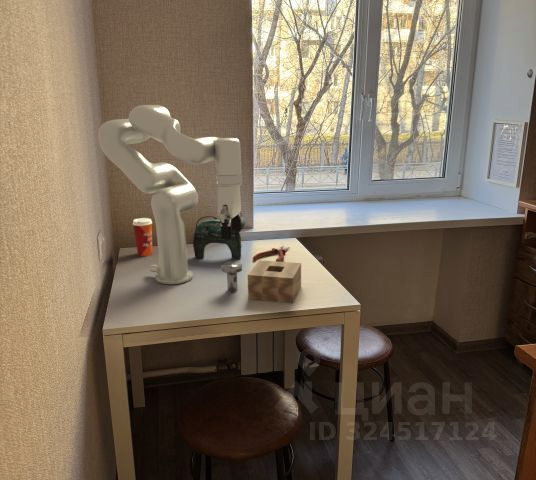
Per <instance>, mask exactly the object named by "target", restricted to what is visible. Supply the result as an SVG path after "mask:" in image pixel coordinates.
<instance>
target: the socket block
mask: <svg viewBox="0 0 536 480" xmlns="http://www.w3.org/2000/svg"><path fill="white" fill-rule="evenodd" d="M301 287H302V263H301V262H290V261H289V262H288V261H283V262H277V261H276V260H275V261H274V260H262V259H258V260H257V263H256V264H255V265H254V266H253V267H252V269H251V270H250V272H249V273H248V274H247V299H248V300H252V301H253V300H254V301H263V302H265V301H266V302H273V303H274V302H276V303H278V302H279V303H287V304H293V303H294V302H295V299H296V298H297V296H298V293H299V291H300V289H301Z"/></svg>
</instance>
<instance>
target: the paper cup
mask: <svg viewBox="0 0 536 480" xmlns="http://www.w3.org/2000/svg"><path fill="white" fill-rule="evenodd" d="M132 226H133V231H134V237H135V238H134V239H135V246H136V250H137V255H138V256H140V257H148V256H151V255H153V228H152V227H153V221H152V219H151V218H148V217H140V218H139V217H138V218H134V219H133V220H132Z"/></svg>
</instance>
